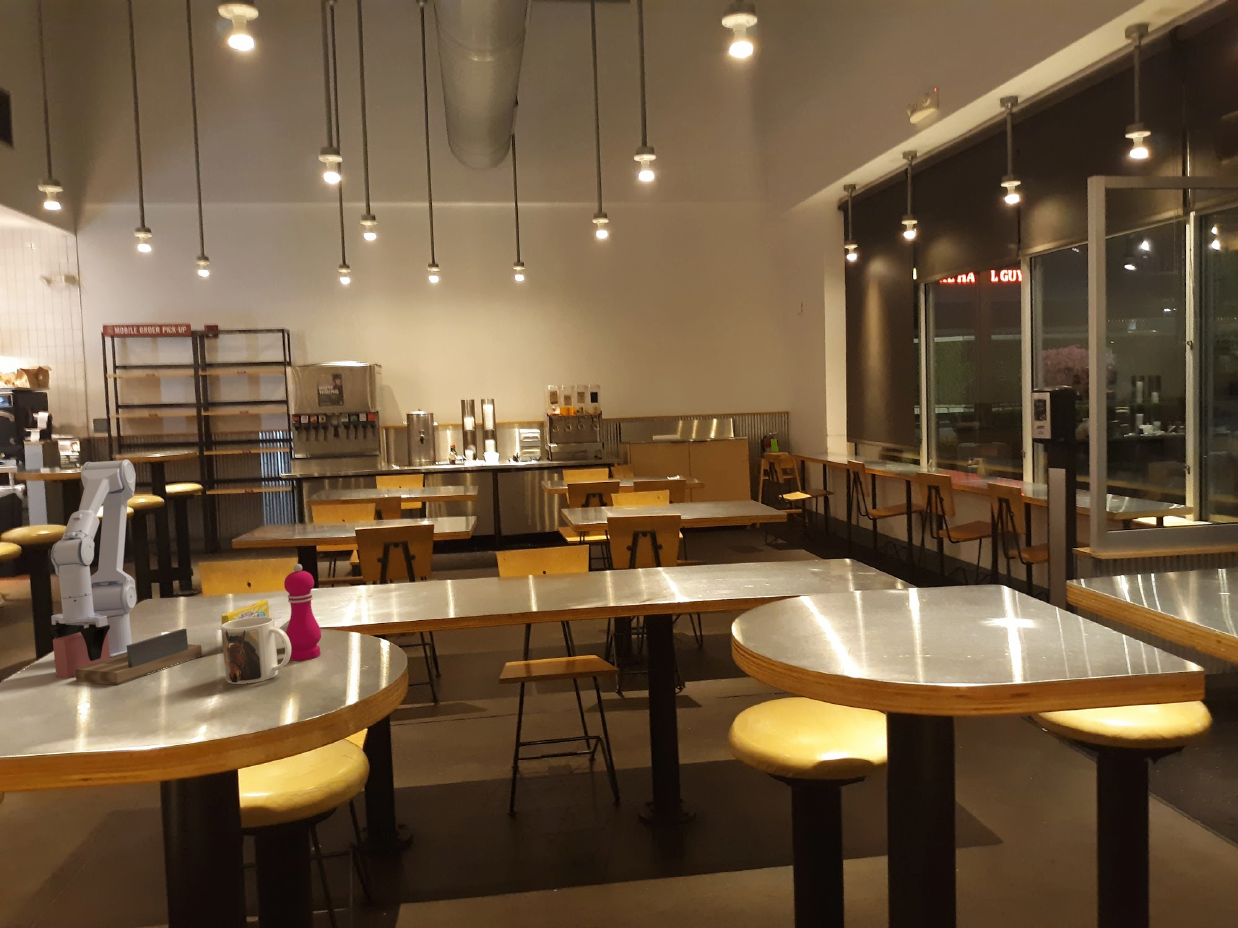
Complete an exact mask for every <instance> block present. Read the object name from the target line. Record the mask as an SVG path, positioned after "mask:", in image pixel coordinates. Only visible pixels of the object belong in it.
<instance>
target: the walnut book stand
mask: <svg viewBox="0 0 1238 928" xmlns="http://www.w3.org/2000/svg"><path fill="white" fill-rule="evenodd" d="M202 651H203V649H202V645H201V644H189V643H188V650H185V651H182V652H179V653H176V654H172V655H169V656H166V657H163V658H160V659H157V660H154V661H151V662H148V663H145V664H142V665H139V666H136V667H133V668H130V667H128V657H127V653H124V654H120V655H117V656H114V657H110V659H107V660H103V661H100V662H97V663H94V664H90V665H87V666H84V667H81V668H77V669H75V673H76V676H75V680H76V682H81V683H82V682H83V683H90V684H91V683H93V684H102V685H112V686H113V685H114V686H119V685H122V684H125V683H128V682H131V681H134V680H136V678H137V679H139V677H140V678H142V677H141V676H143V677H145V676H144V675H146V676H148V675H147V674H148V673H152V672H154V671H158V670H161V669H163V668H166V667H169V668H171V667H170V666H171V665H175V664H177V663H181V662H184V663H186V662H185V661H187V660H190V661H192V660H191V659H193V658H196V657H199V658H201V657H200V656H202V657H203V652H202ZM196 659H197V658H196ZM193 660H194V659H193ZM187 662H188V661H187ZM181 664H182V663H181ZM175 666H176V665H175ZM166 669H167V668H166ZM163 670H164V669H163ZM161 671H162V670H161ZM158 672H159V671H158ZM152 674H153V673H152Z"/></svg>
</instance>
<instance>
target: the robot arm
mask: <svg viewBox="0 0 1238 928" xmlns="http://www.w3.org/2000/svg"><path fill="white" fill-rule="evenodd" d="M136 476H137V475H136V470H135V468H134V465H133V463H132V462H131V461H130V460H129V459H123V460H110V461H107V460H106V461H94V462H91V461H87V462H85V463H84V464H83V465H82V468H81V471H80V478H81V482H82V483H81V484H82V486H83V492H82V496H81V501H80V503H79V508H78V511H74V512H73V513H72V514H71V515H70V517H69V519H68V522H67V525H66V527H65V530H64V532H63V535H62V538H61V540H58V541H56V542H55V543H54V544H53V545H52V549H51V553H50V554H51V555H50V559H51V563H52V565H53V566H54V570H55V574H56V576H58V580H59V590H60V597H61V600H60V601H61V608H62V609H61V610H62V613H58V614H53V615H51V626H52V625H53V627H50V628H49V632H50V633H51V635H53V637H54V639H57V638H60V637H64V636H68V635H71V634H75V633H79V632H81V634H82V636H83V638H84V640H85V643H86V646H87V652H88V657H89V659H90V661H94V660H97V659H100V658H101V653H102V648H103V643H104V640H105V637H106V635H107V633H108V642H109V652H110V658H113V657H116V656H120V655H123V654H126V653H127V646H126V645H130V644H133V641H132V632H131V623H130V621H131V620H130V612H132V610H133V609H134V607H135V606H136V603H137V590H136V580H135V579H134V578H133V576H131V575H130V574H128V573H126V572H125V571H124V570H123V569H124V557H125V543H126V527H127V516H128V515H127V514H128V503H129V500H130V499H132V498H134V497H135V488H136V478H137V477H136ZM102 506H103V507H102ZM101 507H102V518H101V519H102V520H101V528H100V529H101V531H100V532H101V533H100V545H99V555H98V557H99V558H98V569H97V571H96V572H95V573H93V574H92V575H91V569H90V565H91V564H92V562H93V561H94V557H95V542H94V539H95V536H96V534H97V531H98V528H99V525H100V519H99V517H98V516H97V515H98V513H99V511H100V509H101ZM54 625H55V626H54ZM80 626H83V628H80ZM79 628H80V629H79ZM78 631H79V632H78Z"/></svg>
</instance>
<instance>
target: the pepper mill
mask: <svg viewBox="0 0 1238 928" xmlns="http://www.w3.org/2000/svg"><path fill="white" fill-rule="evenodd" d="M283 583H284V584H283V586H284V590H285V591H286V592H287V593H288V595H287V598H288V601H287V602H288V603H289V604H290V618H289V620H290V621H289V620H288V621H289V624H288V627H287V630H286V634H287V636H288V638H289V640H290V643H291V656H290V659H289V660H291V661H306V660H308V661H309V660H312V659H315V658H318V657H320V656H321V646H320V645H318V643H319V641H321V639H322V631H321V628H320V626H319V625H320V624H319V623H318V622H317V620H316V618H315V615H314V613H313V608H312V600H313V599H314V597H313V592H312V590H313V588H314V585H315V580H314V578H313V575H312V574H311V573H310V572H308V571H306V570H303V566H302V564H300V563H296V564H294V565H293V571H292V572H291V573H289V574H287V576H286V577H285V579H284V582H283Z"/></svg>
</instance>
